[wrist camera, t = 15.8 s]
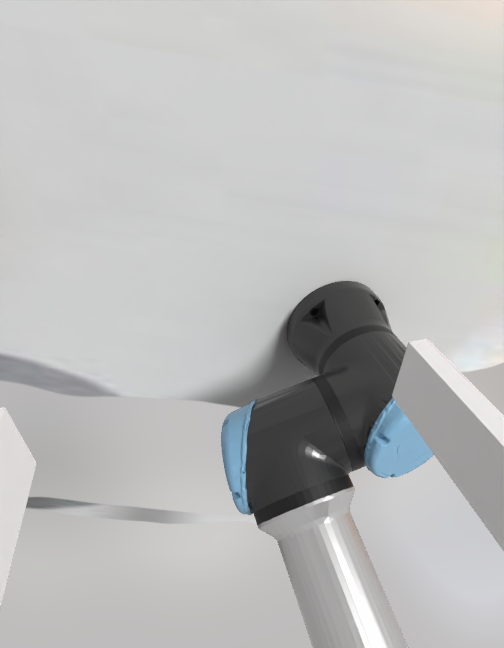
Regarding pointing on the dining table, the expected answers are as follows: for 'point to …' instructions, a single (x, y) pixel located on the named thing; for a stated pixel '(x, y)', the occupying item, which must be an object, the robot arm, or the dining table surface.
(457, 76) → the dining table surface
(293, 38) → the dining table surface
